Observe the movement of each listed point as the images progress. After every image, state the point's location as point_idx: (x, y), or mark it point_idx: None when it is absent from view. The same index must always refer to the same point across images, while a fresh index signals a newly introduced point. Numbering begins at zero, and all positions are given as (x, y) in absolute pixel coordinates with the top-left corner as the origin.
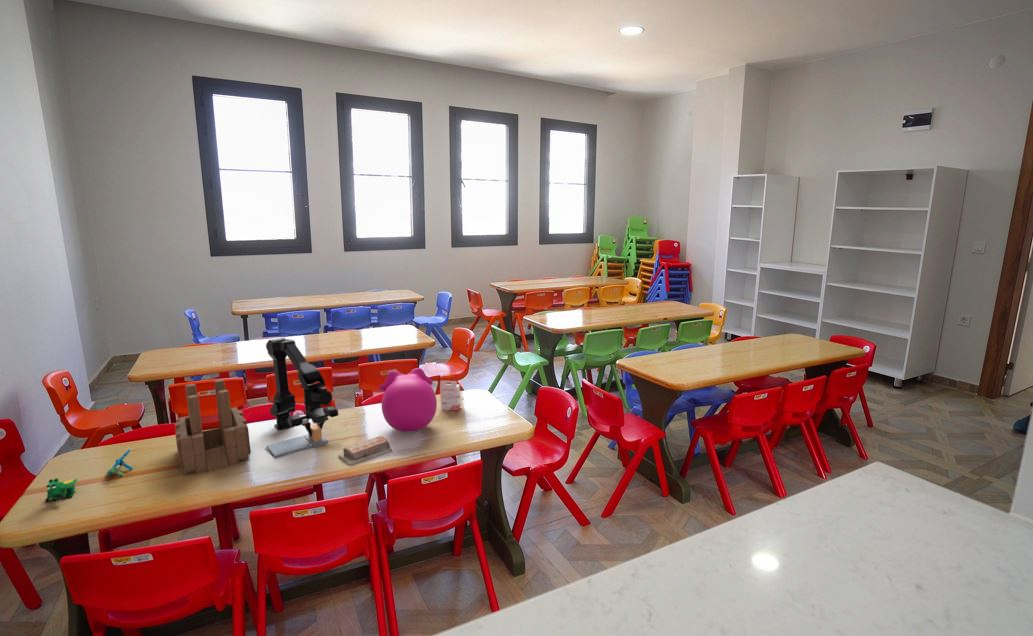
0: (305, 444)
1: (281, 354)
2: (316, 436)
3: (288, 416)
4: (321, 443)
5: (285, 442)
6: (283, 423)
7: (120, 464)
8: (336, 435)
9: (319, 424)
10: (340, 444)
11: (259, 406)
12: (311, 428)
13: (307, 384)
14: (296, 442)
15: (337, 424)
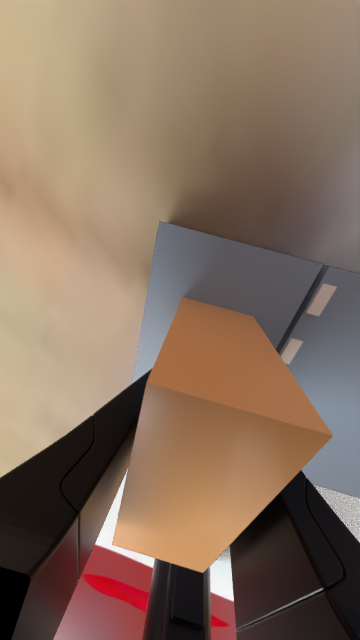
0: (337, 339)
1: None
2: (240, 332)
3: (169, 630)
4: (229, 240)
5: (358, 471)
6: (203, 584)
7: None
8: (50, 305)
9: (94, 504)
10: (93, 45)
11: None
12: (260, 501)
13: None
14: (327, 421)
15: (2, 417)
